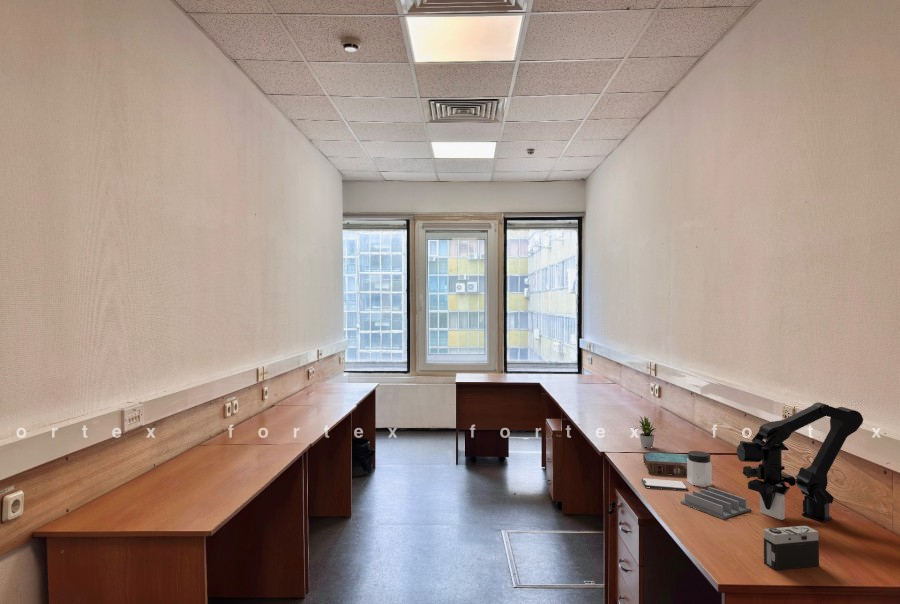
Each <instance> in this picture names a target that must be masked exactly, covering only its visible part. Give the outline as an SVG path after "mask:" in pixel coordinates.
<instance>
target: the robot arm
mask: <svg viewBox="0 0 900 604" xmlns="http://www.w3.org/2000/svg"><path fill="white" fill-rule="evenodd" d="M825 417H829V427H830V430H829V431H828V433H827V435H826V437H825V439H824V441H823V442H822V444H821V446H820V448H819V450H818V452H817V453H816V456H815V457H814V459H813V460H812V463H811V465H810V466H808V467H806V468H805V467H802V466H801V467H800V468H799V470H798V473H797V474H796V475H795V477H794V476H793V475H789V474H786V473H783V472H782V471H783V470H785V465H783V464H782V461H783V460H782V459H783V456H782V455H783V454H782V452H783V451H789V447H787V446H786V445H785V444H784V442H785V441H786V440H788V439H789V438H790V436H791V435H792V434H793V433H794V432H796V431H798V430H800V429H802V428H804V427H806V426H809V425H810V424H812V423H815V422H816V421H818V420H820V419H822V418H825ZM863 421H864V417H863V415H862V413H861V412H859V411H857V410H855V409H851V408H848V407H846V406H845V407H844V406H838V407H834V406H831V405H828V404H826V403H824V402H823V403H822V402H820V401H819V402H818V401H817V402H815V403H813V404H812V405H811V406H808V407H807V408H805V409H803V410H800V411H798V412H796V413H794V414H792V415H790V416H788V417H786V418H784V419H780V420H775V421H773V420H772V421H771V422H767V423H763V424H762V425H760V427H759V429H758V432H757V433H756V434H755V435H754V436H753V438H752V439H751V441H745V440H740V441H739V444H738V445H737V448H736V456H737V458H738V460H739V461H740V462H741V463H742V462H744V463H759V464H758V466H750V465H748V466H747V465H746V466H743V468H742V474H743V475H744V477H746V478H747V479H750V478H755V479H752V480H750V481H748V482H747V489H748V490H751V491H753V492H754V491H755V492H757V493H759V495H760V494H761V497H762V499H763V502H764V505H765V507H766V509H768V510H770V508H771V506H772V503H773V500H774V497H775V494H776V493H780V494H783V495H784V497H785V496H786V494H787V493H788V492H789V490H790V489H791V487H794V486H797V488H798V489H799V490H800V492H801V494H802V495H804V496H803V498H804V499H802V513H801V515H802V516H804V517H807V518H809V519H811V520H815V521H819V522H823V523H824V522H826V521H829V520H831V519H833V516H831V515H830V504H833V502H834V496H833V495H832V494H831V493H830V492H829V491H828V490H827V487H828V482H829V481H828V473H829V471H830V469H831V467H832V465H833V464H834V462H835V461H836V458H837V456H838V455H839V453H840V450H842V447H843V445H844V443H845V442H846V440H847V438H848V437H850V436H851V435H852V434H854V433H855V432H857V431H858V429H859V428H860V427H861V426H862V425H863V423H864V422H863ZM760 462H761V463H760ZM786 484H788V485H789V486H787V485H786Z"/></svg>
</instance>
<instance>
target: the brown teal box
mask: <svg viewBox="0 0 900 604" xmlns="http://www.w3.org/2000/svg"><path fill="white" fill-rule="evenodd" d="M641 452H642V460H643V461H644V462H643V463H645V464H644V466H645V465H646V466H645V468H646V469H647V468H648V469H647V471H648V473H657V474H656V475H661V474H672V475H671V476H676V475H683V476H682V477H687V458H688V454H683V453H667V452H650V451H641Z"/></svg>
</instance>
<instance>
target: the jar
mask: <svg viewBox="0 0 900 604" xmlns="http://www.w3.org/2000/svg"><path fill="white" fill-rule="evenodd" d="M687 455H688V458H687V476H686V482H687V481H688V483H689V484H690V485H692V486H694V485H695V487H701V488H706V487H707V488H708V487H711V486H713V478H712V477H713V476H712V475H713V473H712V472H713V470H712V467H713V466H712V465H713V462H712V461H711V454H710V453H708V452H705V451H701V450H700V451H699V450H690V451H688V452H687Z"/></svg>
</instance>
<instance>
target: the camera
mask: <svg viewBox="0 0 900 604" xmlns="http://www.w3.org/2000/svg"><path fill="white" fill-rule="evenodd" d="M763 564H764V565H765V566H767V567H768V568H770V569H772V570H773V571H780V570H790V569H791V570H792V569H802V568H811V567H812V568H813V567H819V566H820V542H819V531H817V530H816V529H814V528H812V527H810V526H807V525H799V526H798V525H797V526H786V527H785V526H784V527H775V528H774V527H769V528H764V529H763Z"/></svg>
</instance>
